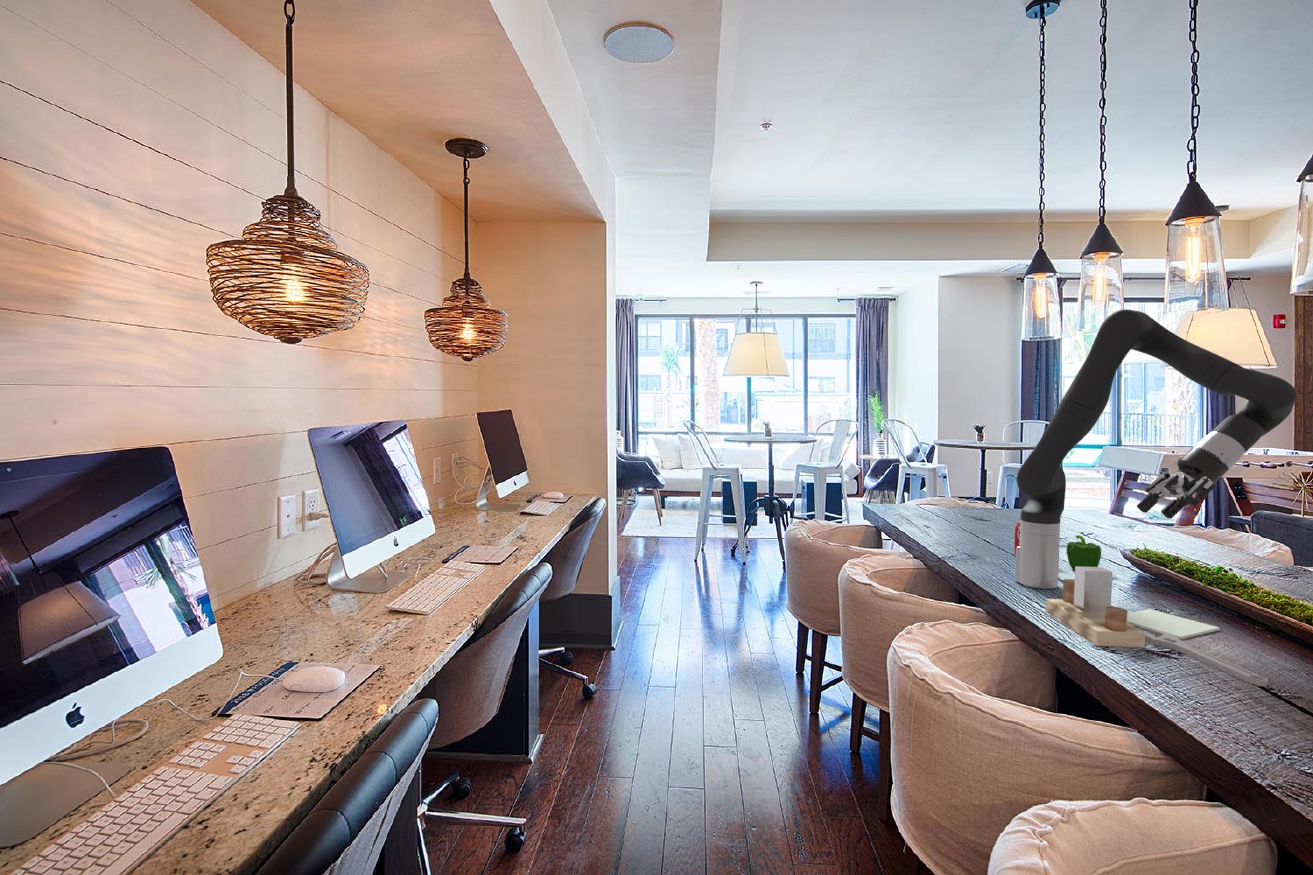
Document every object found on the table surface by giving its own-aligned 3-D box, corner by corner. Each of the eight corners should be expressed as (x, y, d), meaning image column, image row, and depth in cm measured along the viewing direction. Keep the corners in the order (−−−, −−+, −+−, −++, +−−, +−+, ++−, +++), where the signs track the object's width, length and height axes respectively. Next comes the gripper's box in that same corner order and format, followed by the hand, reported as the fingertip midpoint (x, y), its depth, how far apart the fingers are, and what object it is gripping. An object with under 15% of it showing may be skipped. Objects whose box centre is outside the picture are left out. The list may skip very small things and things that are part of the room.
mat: (1111, 619, 151) (1111, 616, 151) (1149, 611, 156) (1149, 608, 156) (1180, 639, 138) (1180, 636, 138) (1219, 630, 144) (1219, 627, 144)
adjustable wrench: (1272, 689, 116) (1273, 679, 115) (1235, 689, 116) (1236, 679, 115) (1163, 637, 140) (1163, 628, 140) (1132, 637, 140) (1133, 628, 140)
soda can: (1043, 563, 202) (1044, 524, 201) (1018, 562, 203) (1019, 523, 203) (1035, 558, 209) (1036, 520, 208) (1010, 557, 210) (1011, 519, 210)
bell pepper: (1105, 574, 189) (1106, 540, 188) (1073, 573, 191) (1074, 538, 190) (1092, 567, 197) (1093, 534, 197) (1061, 566, 199) (1063, 533, 198)
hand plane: (1045, 611, 156) (1046, 577, 156) (1086, 612, 155) (1087, 578, 155) (1096, 645, 134) (1098, 606, 134) (1144, 647, 133) (1146, 608, 133)
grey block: (1073, 611, 147) (1075, 566, 146) (1100, 611, 146) (1101, 567, 146) (1083, 616, 143) (1084, 570, 142) (1110, 617, 142) (1112, 571, 142)
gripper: (1175, 444, 148) (1120, 496, 150) (1221, 447, 134) (1159, 504, 136) (1201, 467, 147) (1145, 520, 149) (1250, 473, 133) (1188, 530, 135)
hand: (1152, 512), depth 142 cm, fingers open, 8 cm apart
